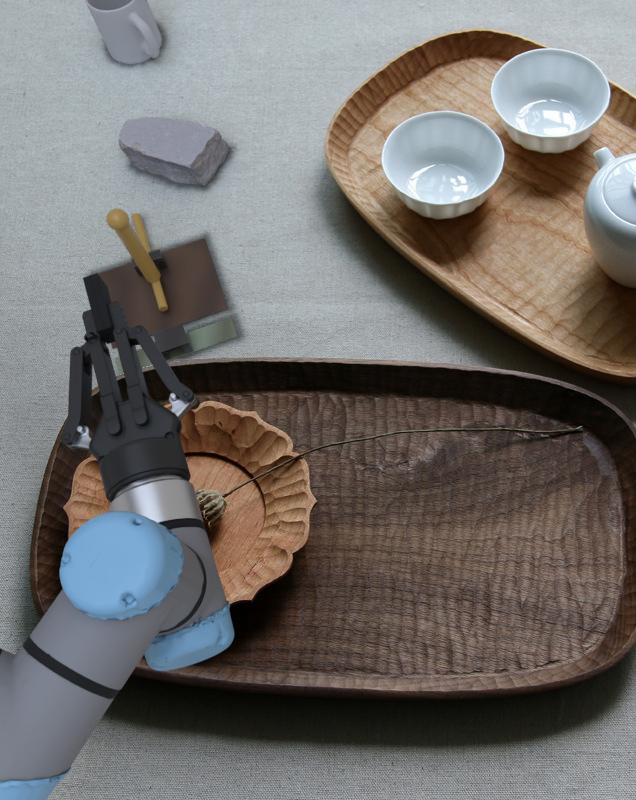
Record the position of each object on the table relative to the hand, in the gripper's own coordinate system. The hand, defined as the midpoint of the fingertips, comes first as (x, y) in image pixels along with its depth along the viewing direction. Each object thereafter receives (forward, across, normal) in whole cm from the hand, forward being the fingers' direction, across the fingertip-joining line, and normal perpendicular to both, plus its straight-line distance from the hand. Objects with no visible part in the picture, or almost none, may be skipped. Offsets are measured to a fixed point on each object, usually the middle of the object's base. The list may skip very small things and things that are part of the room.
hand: (95, 282), depth 82 cm
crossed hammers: (+18, +2, -24) cm, 30 cm away
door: (+11, +2, -26) cm, 28 cm away
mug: (+57, +10, -26) cm, 64 cm away
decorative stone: (+33, +10, -26) cm, 44 cm away
